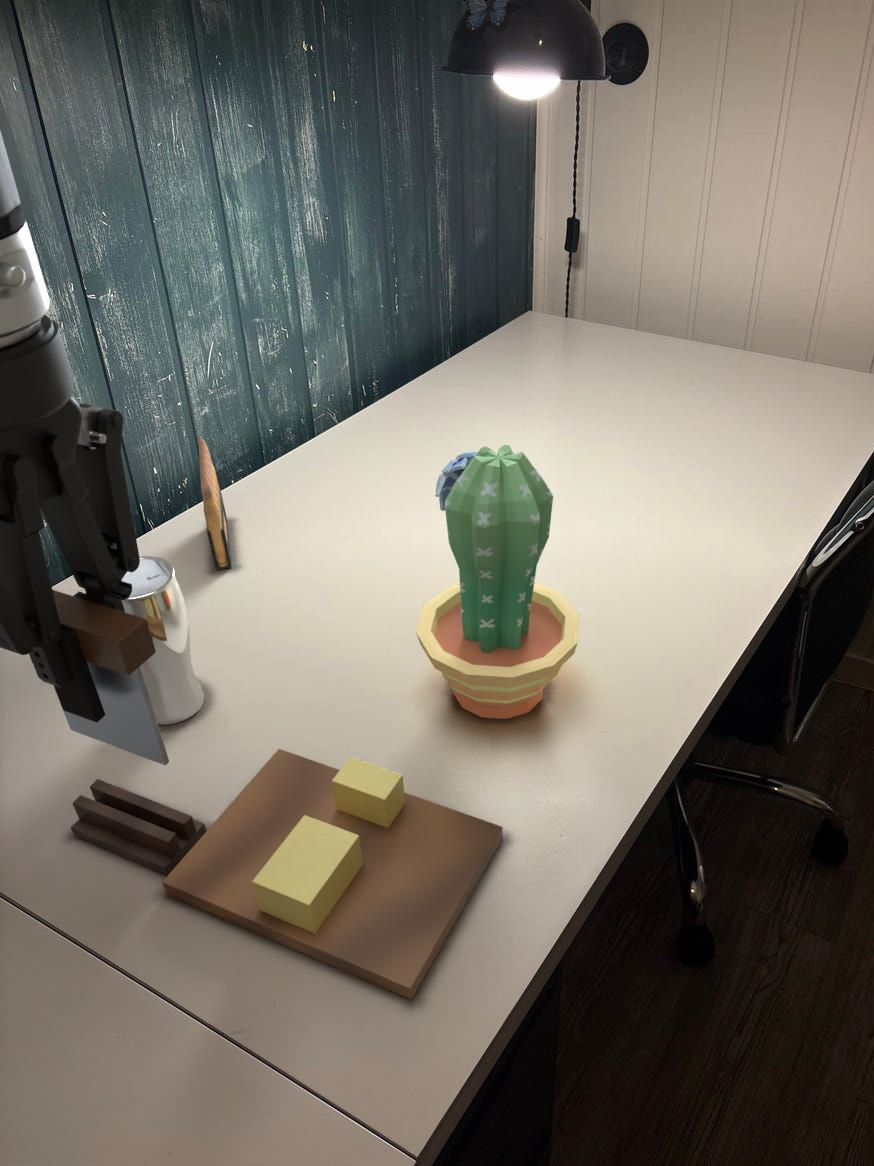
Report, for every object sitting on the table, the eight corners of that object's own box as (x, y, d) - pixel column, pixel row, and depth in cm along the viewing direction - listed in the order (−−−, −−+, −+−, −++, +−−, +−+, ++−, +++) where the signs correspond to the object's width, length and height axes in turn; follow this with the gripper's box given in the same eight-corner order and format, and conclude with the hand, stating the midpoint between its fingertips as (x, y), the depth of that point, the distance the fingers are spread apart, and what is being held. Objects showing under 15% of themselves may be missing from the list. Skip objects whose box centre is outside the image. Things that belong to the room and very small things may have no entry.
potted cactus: (559, 632, 100) (569, 411, 84) (594, 733, 88) (613, 497, 72) (413, 646, 98) (396, 424, 83) (428, 752, 86) (412, 515, 71)
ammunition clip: (232, 568, 110) (212, 476, 103) (215, 570, 110) (194, 479, 102) (227, 521, 118) (208, 433, 111) (212, 523, 118) (192, 435, 110)
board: (165, 893, 75) (161, 882, 74) (281, 759, 86) (278, 748, 85) (411, 1000, 67) (410, 988, 66) (503, 838, 79) (503, 826, 78)
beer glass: (121, 720, 90) (77, 592, 81) (161, 674, 96) (123, 549, 86) (185, 734, 89) (148, 606, 79) (222, 687, 94) (191, 561, 84)
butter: (259, 910, 72) (251, 881, 69) (310, 843, 77) (304, 814, 74) (315, 934, 70) (309, 905, 68) (363, 864, 75) (359, 835, 73)
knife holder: (73, 835, 80) (62, 811, 78) (114, 794, 83) (105, 770, 81) (168, 875, 76) (159, 851, 74) (206, 831, 80) (199, 807, 78)
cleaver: (53, 737, 63) (-1, 603, 56) (79, 715, 64) (30, 582, 58) (161, 778, 60) (118, 642, 53) (185, 753, 61) (147, 618, 55)
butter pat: (336, 809, 79) (331, 780, 77) (354, 785, 81) (350, 756, 79) (388, 828, 78) (384, 799, 75) (405, 803, 80) (403, 774, 78)
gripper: (-116, 406, 38) (56, 801, 53) (143, 286, 49) (226, 641, 64) (-238, 376, 41) (-41, 761, 55) (34, 269, 51) (138, 614, 66)
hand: (101, 696), depth 59 cm, fingers closed on cleaver, 2 cm apart
